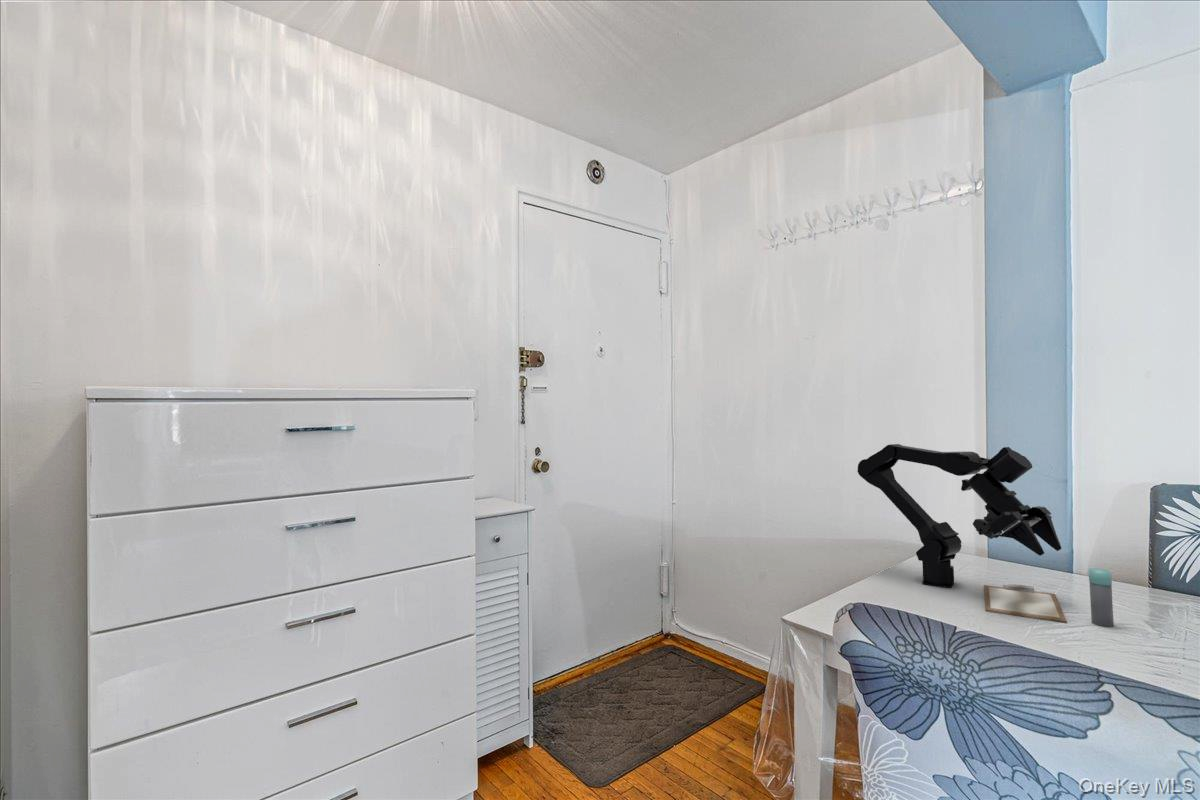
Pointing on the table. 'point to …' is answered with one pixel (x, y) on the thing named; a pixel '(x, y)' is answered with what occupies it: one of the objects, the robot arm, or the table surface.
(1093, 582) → the marker
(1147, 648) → the table surface
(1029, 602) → the clipboard
